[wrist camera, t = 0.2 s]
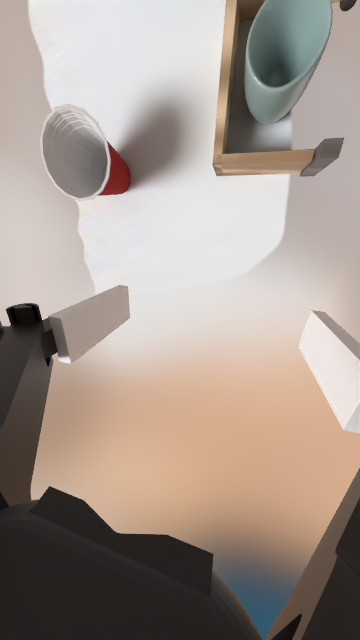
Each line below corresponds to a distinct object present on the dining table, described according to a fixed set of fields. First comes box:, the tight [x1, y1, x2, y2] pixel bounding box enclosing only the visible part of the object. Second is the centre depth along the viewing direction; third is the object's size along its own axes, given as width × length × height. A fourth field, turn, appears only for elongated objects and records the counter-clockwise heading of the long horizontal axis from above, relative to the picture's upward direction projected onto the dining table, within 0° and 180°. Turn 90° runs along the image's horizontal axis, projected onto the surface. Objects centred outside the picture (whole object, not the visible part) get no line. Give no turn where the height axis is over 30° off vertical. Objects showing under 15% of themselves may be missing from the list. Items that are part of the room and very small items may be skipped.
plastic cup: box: [40, 104, 131, 201], centre depth 33 cm, size 11×11×12 cm
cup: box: [244, 0, 332, 124], centre depth 24 cm, size 8×8×10 cm
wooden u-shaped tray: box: [213, 0, 356, 176], centre depth 25 cm, size 19×15×8 cm
